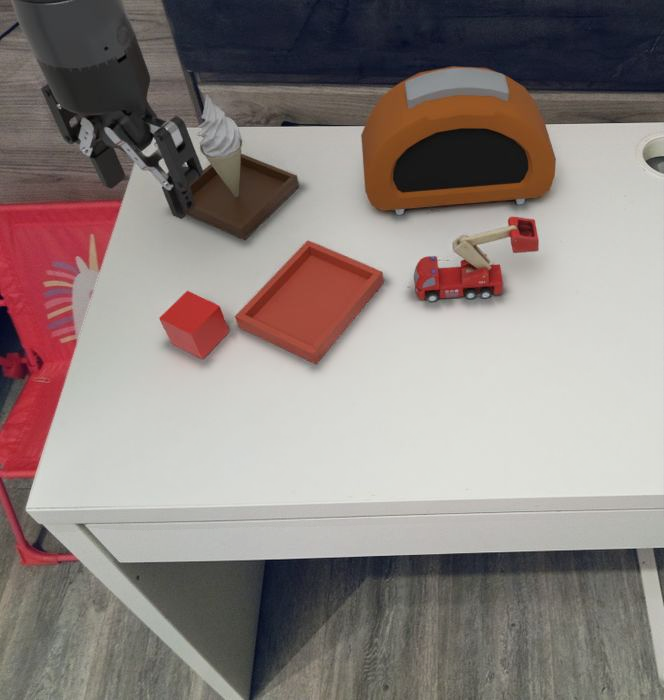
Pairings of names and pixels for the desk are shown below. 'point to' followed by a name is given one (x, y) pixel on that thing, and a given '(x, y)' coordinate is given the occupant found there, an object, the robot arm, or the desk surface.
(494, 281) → the toy fire truck
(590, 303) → the desk surface
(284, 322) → the red tray
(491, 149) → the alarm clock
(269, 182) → the brown tray
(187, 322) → the red block
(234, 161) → the ice cream cone
